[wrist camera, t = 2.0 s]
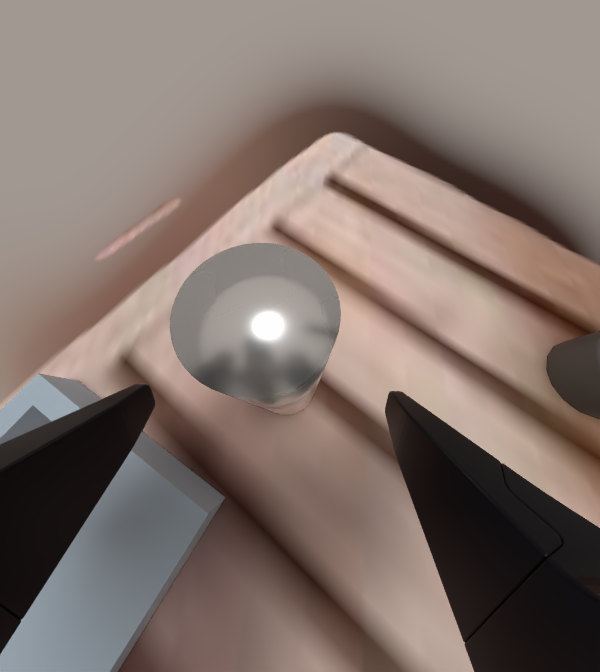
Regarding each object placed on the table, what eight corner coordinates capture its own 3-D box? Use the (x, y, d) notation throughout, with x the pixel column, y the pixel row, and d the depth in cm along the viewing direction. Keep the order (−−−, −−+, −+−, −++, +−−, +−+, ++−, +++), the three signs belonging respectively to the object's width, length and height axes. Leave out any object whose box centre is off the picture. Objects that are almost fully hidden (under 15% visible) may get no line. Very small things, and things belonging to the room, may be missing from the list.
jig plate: (225, 497, 15) (208, 514, 13) (32, 810, 11) (-60, 941, 8) (78, 380, 18) (38, 373, 16) (-121, 591, 14) (-228, 633, 11)
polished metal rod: (325, 376, 18) (369, 285, 6) (295, 426, 17) (279, 436, 5) (279, 348, 19) (239, 221, 7) (248, 394, 18) (132, 336, 6)
